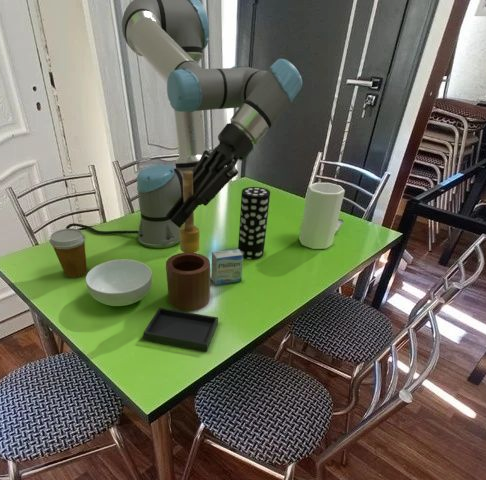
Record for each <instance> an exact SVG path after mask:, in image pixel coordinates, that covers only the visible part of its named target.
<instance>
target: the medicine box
mask: <svg viewBox="0 0 486 480" xmlns="http://www.w3.org/2000/svg"><path fill="white" fill-rule="evenodd" d="M243 265H244V258H243V255H242V253H241V252H240V250H239V249H238V248H234V249H232V248H231V249H225V250H218V251H212V252H211V273H210V279H211V280H212V281H213V283H214V285H215V286H221V285H228V284H234V283H238V282H239V283H240V282H242V278H243Z"/></svg>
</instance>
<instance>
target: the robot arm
mask: <svg viewBox="0 0 486 480" xmlns="http://www.w3.org/2000/svg"><path fill="white" fill-rule="evenodd" d="M121 30H122V37H123V39H124V41H125V43H126V44H127V46H128V47H129V48H130V49H131V51H132V52H133V53H135V55H138V56H140V57H143V58H144V59H145V60H146V62H147V63H148V64H149V66H151V67H152V68H153V70H154V71H155V72H156V73H157V74H158V76H160V78H161V79H162V80H163V81H164V83H166V92H167V93H166V94H167V99H168V101H169V104H170V107H171V108H172V109H173V113H174V123H175V130H176V140H177V149H178V150H177V151H178V158H177V159H176V160H175V161H174V164H175V168H174V166H173V165H171V164H167V163H161V164H160V163H158V164H152V165H149V166H146V167H144V168H142V169H141V170H140V171H139V172H138V173H137V176H136V182H137V183H136V189H137V190H136V191H137V194H138V195H137V196H138V203H139V211H140V222H139V226H138V230H98V229H95V228H93V227H91V226H90V225H87V224H86V225H85V224H81V223H76V222H74V223H73V222H71V223H69V224H68V225H66V227H65V229H69V228H72V227H79V228H83V229H88V230H89V231H91V232H92V233H95V234H100V235H115V234H116V235H117V234H120V235H121V234H122V235H123V234H127V235H128V234H135V235H137V240H138V243H139V244H140V245H142V246H143V247H146V248H149V249H167V248H171V247H174V246H177V245H179V244H180V231H179V230H180V228H181V227H183V226H184V222H185V221H186V220H187V219H188V217H189V216H190V215H191V214H192V213H193V212H195V211H196V209H197V208H198V207H199V206H202V205H203V206H205V207H206V206H208V205H209V204H210V203H211V202H212V200H214V199H215V198H216V196H217V195H218V194H219V193H220V192H221V190H223V188H224V187H226V185H227V184H228V183H229V182H230V181H231V180H232V179H234V178H235V177H236V176H238V175H239V171H238V169H237V168H236V165H237V163H238V161H240V162H243V161H245V160H246V159H247V158H248V157H249V155H250V154H251V153H252V151H253V150H254V146H256V145H258V144H259V142H260V141H261V139H263V138H264V136H265V134H267V132H268V131H269V130H270V129H271V128H272V126H273V125H274V124H275V123H276V122H277V121H278V119H280V116H281V115H282V114H283V113H284V112H285V111H286V110H287V108H289V106H290V105H291V104H292V103H293V101H294V99H295V98H296V96H297V95H298V94H299V92H300V91H301V89H302V87H303V78H302V75H301V74H300V72H299V69H297V67H296V66H295V65H294V64H293V63H291V62H290V61H289V60H288V59H286V58H278V59H276V61H275V62H274V63H272V64H271V65H270V66H269V68H268V70H261V69H258V68H253V67H249V66H248V65H234V66H232V67H227V68H225V67H223V68H203V67H201V65H199V64H200V63H199V62H200V61H201V59H202V58H203V56H204V54H203V53H204V52H203V50H205V49H206V47H207V46H208V45H209V36H210V23H209V17H208V14H207V11H206V8H205V6H204V5H203V3H202V2H201V1H200V0H132V1H131V2H130V3H129V4H128V5H127V6H126V8H125V10H124V12H123V16H122V20H121ZM227 109H237V110H236V111H235V113H234V114H233V115H232V117H231V118H230V122H229V123H226V124H225V125H224V127H223V129H222V130H221V131H220V132H219V134H218V135H217V140H218V141H219V142H218V143H219V144H218V145H217V146H215V147H214V148H213V149H212V150H211V151H208V150H207V149H206V140H205V129H204V117H203V116H204V115H203V111H212V110H227ZM186 170H190V171H193V195H192V194H190V195H189V196H190V197H191V198H192V199H191V198H190V197H188V198H187V200H186V201H185V202H184V200H183V171H186Z"/></svg>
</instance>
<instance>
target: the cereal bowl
mask: <svg viewBox="0 0 486 480" xmlns="http://www.w3.org/2000/svg"><path fill="white" fill-rule="evenodd" d="M85 284H86V288H87V291H88V293H90V296H91V297H92V298H93V299H94V300H95V301H97V302H99V303H100V304H103V305H106V306H110V307H123V306H129V305H130V306H131V305H132V304H135V303H138V302H139V301H142V299H144V298H145V297H146V296H147V295H148V294H149V292H150V291H151V288H152V285H153V272H152V269H151V268H150V267H149V266H148V264H145V263H144V262H142V261H138V260H134V259H125V258H123V259H113V260H108V261H104V262H102V263H99V264H98V265H95V266H94V267H92V268H91V269H90V270H89V271H87V273H86V275H85Z"/></svg>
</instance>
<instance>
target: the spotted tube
mask: <svg viewBox="0 0 486 480" xmlns="http://www.w3.org/2000/svg"><path fill="white" fill-rule="evenodd" d="M240 197H241V198H240V213H239V228H238V229H239V230H238V231H239V232H238V242H237V243H238V244H237V249H239V250H240V252H241V253H242V255H243V259H245V260H259V259H262V258H263V257H264V253H265V244H266V238H267V237H266V236H267V229H268V228H267V226H268V217H269V209H270V200H271V191H270V189H268V188H265V187H261V186H248V187H244V188H243V189H242V190H241V196H240Z"/></svg>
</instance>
